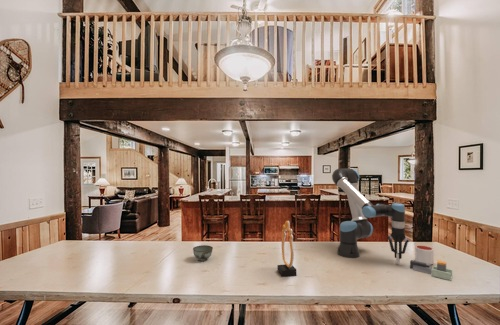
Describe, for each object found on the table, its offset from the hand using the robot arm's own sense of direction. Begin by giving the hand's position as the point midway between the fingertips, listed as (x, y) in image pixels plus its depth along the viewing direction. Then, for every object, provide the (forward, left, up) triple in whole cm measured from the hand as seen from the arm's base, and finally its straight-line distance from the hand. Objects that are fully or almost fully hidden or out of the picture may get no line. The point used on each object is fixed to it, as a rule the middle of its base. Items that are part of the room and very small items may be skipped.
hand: (398, 263), depth 170 cm
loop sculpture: (-46, -61, -1) cm, 76 cm away
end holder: (+24, -3, -1) cm, 24 cm away
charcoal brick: (+11, 0, -1) cm, 11 cm away
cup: (+12, +16, -1) cm, 20 cm away
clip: (+13, 0, -1) cm, 13 cm away
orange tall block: (+24, -3, -1) cm, 24 cm away
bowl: (-102, -81, -1) cm, 130 cm away
